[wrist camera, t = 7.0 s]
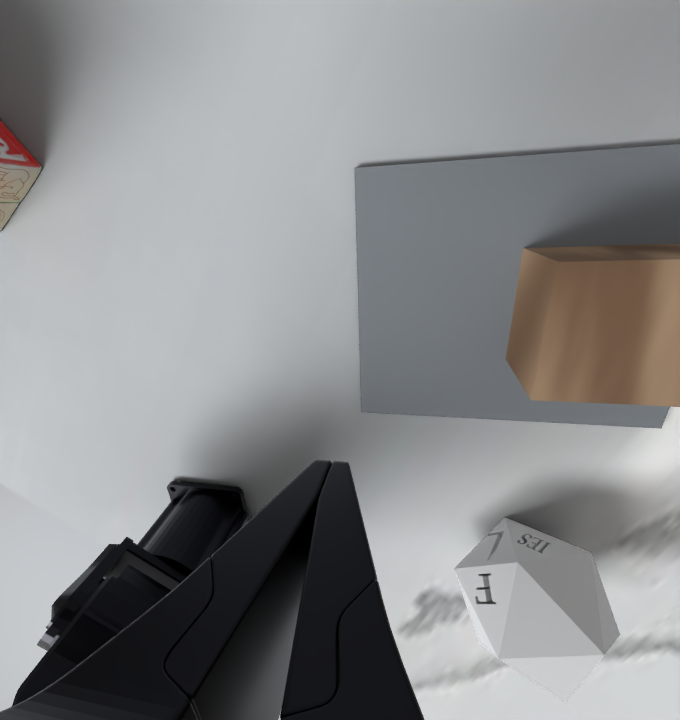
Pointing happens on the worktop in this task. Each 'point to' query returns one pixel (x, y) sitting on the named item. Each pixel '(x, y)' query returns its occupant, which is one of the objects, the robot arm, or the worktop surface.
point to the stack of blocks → (14, 173)
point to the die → (538, 605)
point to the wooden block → (598, 324)
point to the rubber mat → (489, 270)
